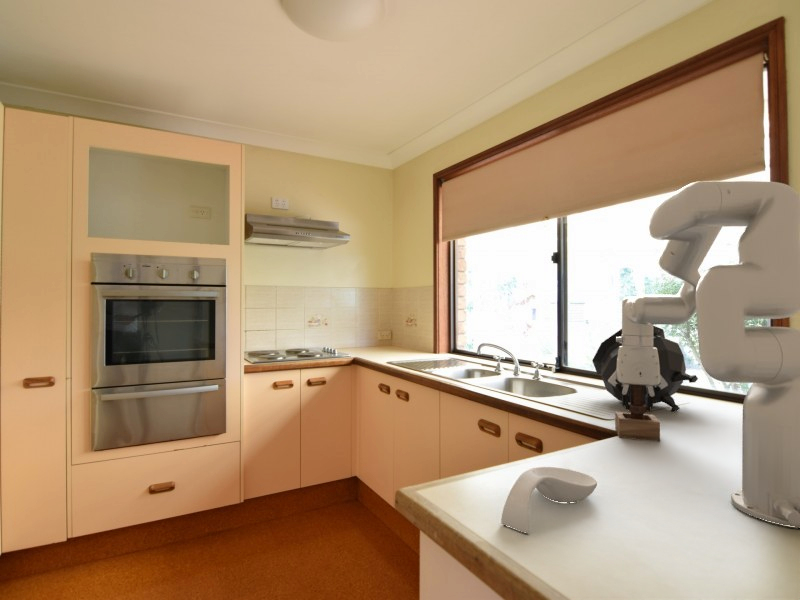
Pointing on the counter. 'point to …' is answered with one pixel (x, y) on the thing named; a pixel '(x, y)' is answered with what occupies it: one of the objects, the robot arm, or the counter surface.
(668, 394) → the black cauldron
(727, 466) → the counter surface
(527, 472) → the spoon rest
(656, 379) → the robot arm
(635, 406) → the bolt
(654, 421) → the holder
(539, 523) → the counter surface
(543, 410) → the counter surface
